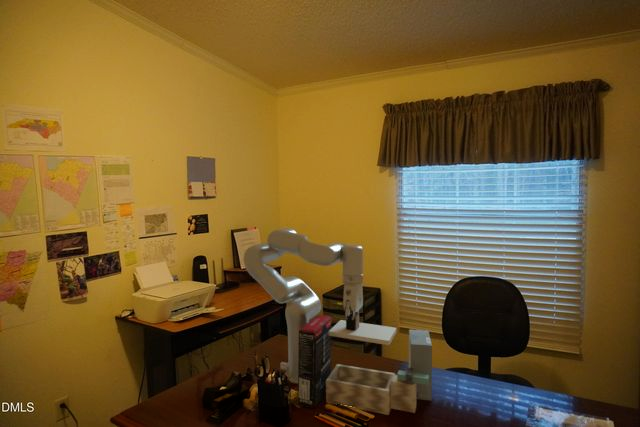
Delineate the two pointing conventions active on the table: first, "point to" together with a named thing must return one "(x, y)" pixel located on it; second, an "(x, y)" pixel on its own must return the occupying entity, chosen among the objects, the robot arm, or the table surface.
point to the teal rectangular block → (414, 377)
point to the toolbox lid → (364, 332)
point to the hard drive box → (421, 360)
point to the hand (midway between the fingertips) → (352, 327)
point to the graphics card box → (314, 360)
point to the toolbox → (371, 389)
